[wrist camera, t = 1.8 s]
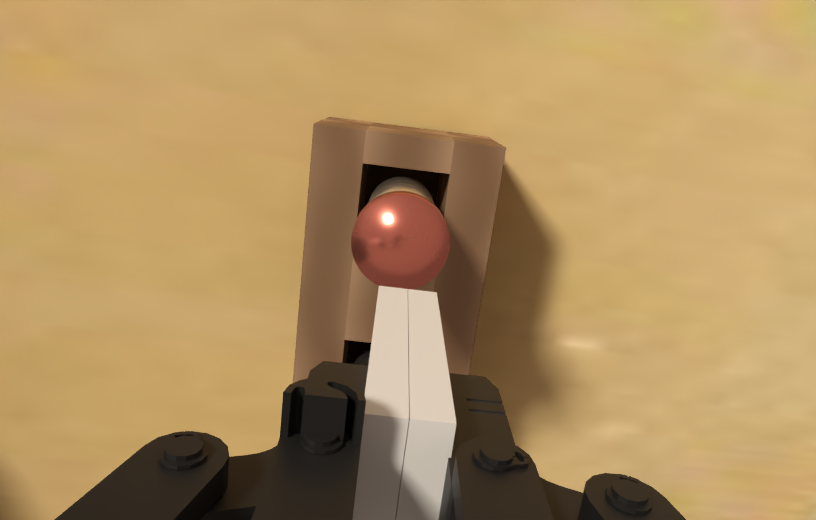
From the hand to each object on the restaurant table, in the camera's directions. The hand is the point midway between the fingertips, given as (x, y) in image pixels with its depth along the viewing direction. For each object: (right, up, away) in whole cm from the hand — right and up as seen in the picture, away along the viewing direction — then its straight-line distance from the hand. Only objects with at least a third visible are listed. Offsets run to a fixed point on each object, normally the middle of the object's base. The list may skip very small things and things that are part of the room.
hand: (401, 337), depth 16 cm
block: (-1, +2, +25) cm, 25 cm away
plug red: (0, +5, +17) cm, 18 cm away
